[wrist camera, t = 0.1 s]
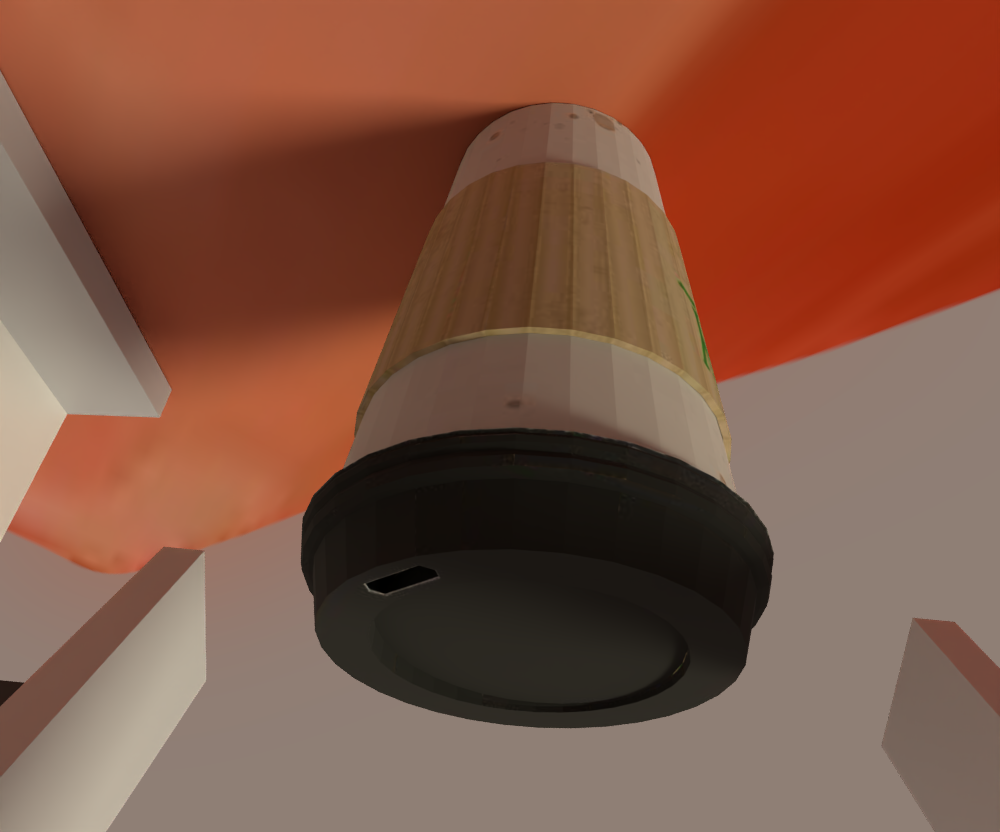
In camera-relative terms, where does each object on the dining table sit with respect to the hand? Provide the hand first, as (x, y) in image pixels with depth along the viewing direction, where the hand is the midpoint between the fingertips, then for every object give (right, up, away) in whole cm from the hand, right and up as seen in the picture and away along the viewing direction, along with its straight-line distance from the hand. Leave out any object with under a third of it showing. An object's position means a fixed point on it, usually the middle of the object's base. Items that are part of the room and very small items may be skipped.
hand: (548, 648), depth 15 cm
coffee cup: (+1, +11, +11) cm, 16 cm away
